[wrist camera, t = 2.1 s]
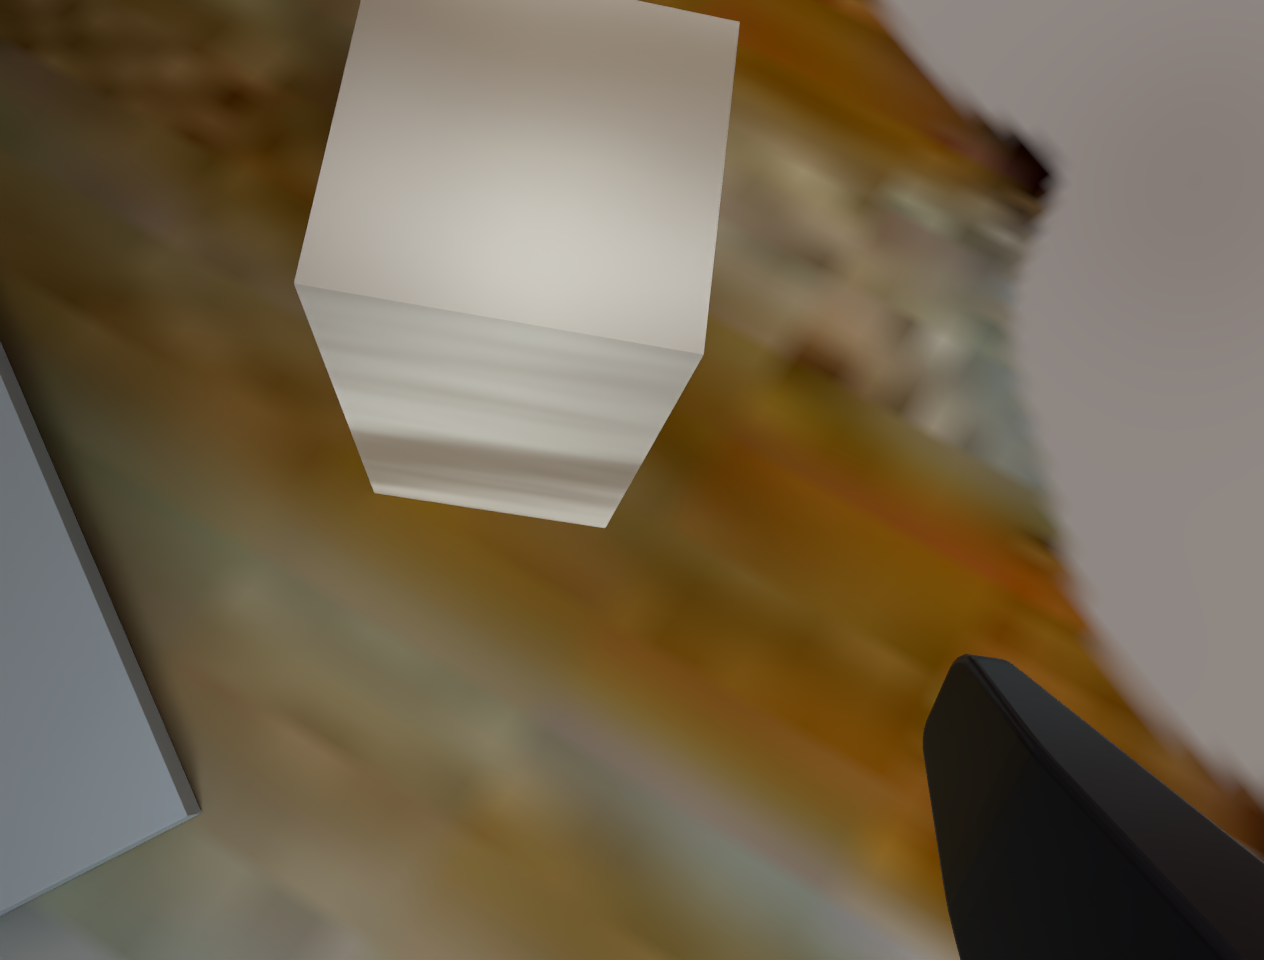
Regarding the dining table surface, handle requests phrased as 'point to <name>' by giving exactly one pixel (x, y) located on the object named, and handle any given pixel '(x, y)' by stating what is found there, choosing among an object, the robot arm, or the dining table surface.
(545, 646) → the dining table surface
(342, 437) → the dining table surface
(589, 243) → the cream block
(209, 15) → the dining table surface
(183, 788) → the slate board
